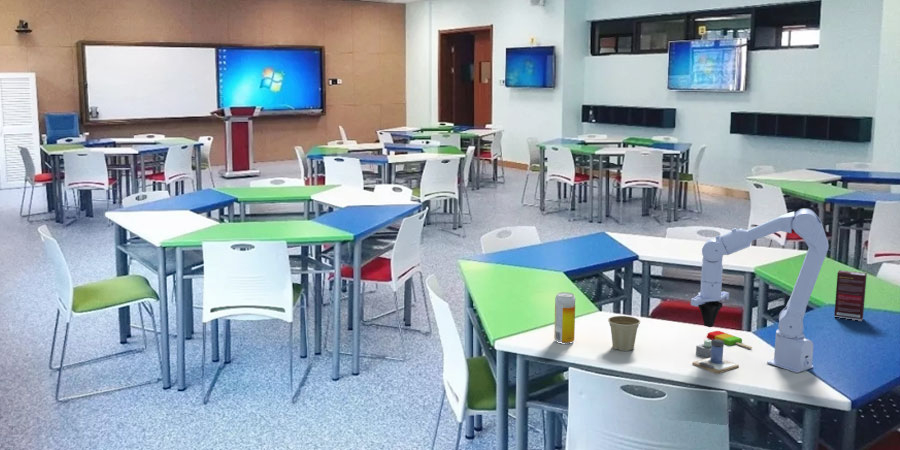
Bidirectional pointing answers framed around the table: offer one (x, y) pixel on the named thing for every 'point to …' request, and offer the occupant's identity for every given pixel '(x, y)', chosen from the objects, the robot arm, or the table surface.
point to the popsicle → (726, 338)
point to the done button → (707, 344)
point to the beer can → (564, 317)
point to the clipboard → (715, 365)
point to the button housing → (703, 351)
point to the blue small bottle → (717, 351)
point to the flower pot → (623, 332)
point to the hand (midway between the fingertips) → (708, 326)
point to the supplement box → (850, 295)
